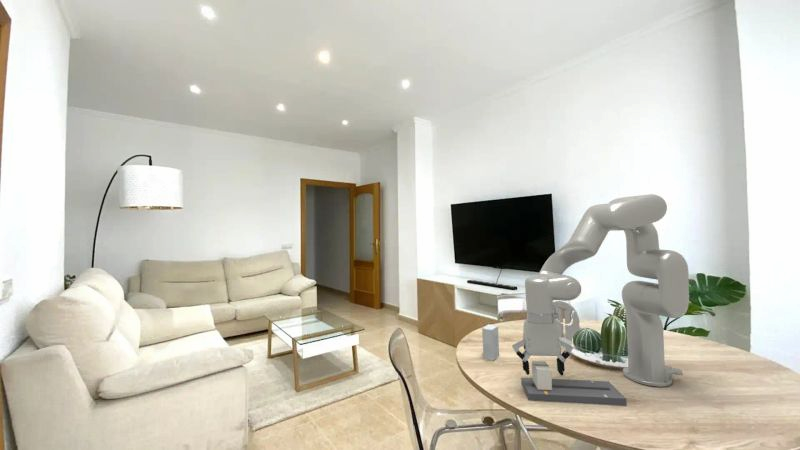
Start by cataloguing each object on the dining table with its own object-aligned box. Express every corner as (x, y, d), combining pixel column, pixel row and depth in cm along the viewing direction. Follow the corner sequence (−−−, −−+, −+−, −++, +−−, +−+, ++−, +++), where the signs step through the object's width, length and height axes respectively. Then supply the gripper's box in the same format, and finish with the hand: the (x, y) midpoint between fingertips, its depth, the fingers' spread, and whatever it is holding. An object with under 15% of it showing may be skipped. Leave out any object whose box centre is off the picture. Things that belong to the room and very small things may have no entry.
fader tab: (546, 380, 98) (545, 360, 98) (552, 390, 92) (551, 369, 92) (532, 379, 99) (531, 360, 99) (537, 389, 93) (536, 368, 93)
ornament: (586, 347, 129) (585, 307, 129) (561, 352, 125) (560, 310, 125) (546, 331, 150) (545, 296, 150) (523, 335, 146) (522, 299, 146)
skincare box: (489, 353, 126) (488, 323, 126) (499, 356, 123) (498, 325, 123) (482, 358, 121) (481, 327, 121) (493, 361, 118) (492, 329, 118)
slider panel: (608, 387, 97) (608, 380, 97) (626, 405, 87) (626, 398, 87) (521, 383, 101) (521, 376, 101) (528, 400, 91) (528, 393, 91)
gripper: (565, 313, 98) (569, 367, 98) (508, 314, 101) (511, 367, 101) (575, 320, 91) (578, 379, 90) (513, 321, 93) (516, 378, 93)
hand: (543, 373), depth 96 cm, fingers open, 9 cm apart
